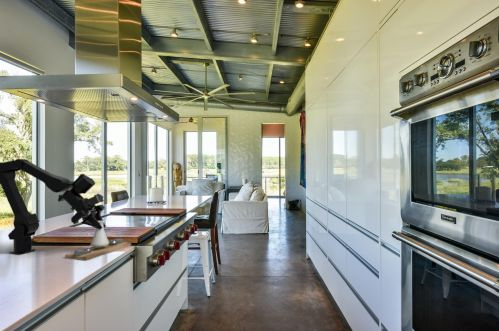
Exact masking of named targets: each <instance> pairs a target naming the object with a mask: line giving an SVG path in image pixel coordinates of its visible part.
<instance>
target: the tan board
mask: <svg viewBox="0 0 499 331" xmlns="http://www.w3.org/2000/svg"><path fill="white" fill-rule="evenodd" d="M131 246H132V243H131V242H126V241H123V243H120V244H117V245H109V244H108V245H104V246H90V247H89V248H91V253H88V254H85V255H81V256H75V255H74V251H73V252H70V253H67V254H65V255H64V257H65V259H72V260H81V261H89V260H92V259H96V258H98V257H101V256H103V255H104V256H105V255H107V254H110V253H113V252H116V251H118V250H119V251H120V250H122V249H126V248H128V247H131Z"/></svg>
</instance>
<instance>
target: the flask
mask: <svg viewBox="0 0 499 331" xmlns="http://www.w3.org/2000/svg"><path fill="white" fill-rule="evenodd" d="M98 222H99V223H100V225H101V226H102V229H97V228H95V232H94V234H93V237H92V240H91V242H90V247H93V246H104V245H108V244H109V241H110V240H109V239H108V236H107V234H106V232H105V231H106V230H105V228H104V226H103V223H105V220H103V221H98Z"/></svg>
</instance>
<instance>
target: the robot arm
mask: <svg viewBox="0 0 499 331" xmlns="http://www.w3.org/2000/svg"><path fill="white" fill-rule="evenodd" d="M19 171H23V172H24V173H25V174H28V175H29V176H32V177H34V178H35V179H37V180H39V181H40V182H42V183H44V184H45V186H46V188H47V189H49V190H50V191H51V192H52V193H62V194H59V195H58V198H57V202H58V203H59V202H63V201H65V202H66V203H67V204H68V205H69V206H70V210H71V211H75V212H76V213H75V214H73V216H71V217H70V222H72V223H73V225H76V224H79V223H80V224H84V225H87V226H89V227H92V228H95V229H96V228H97V229H102V226H101V225H100V223H99V222H98V221H104V219H103V217H102V212H103V210H105V209H106V207H105V206H104V204H99V203H102V202H104V201H105V200H104V196H103V195H102V194H100V193H97V194H94V195H93V196H92V197H90V198H88V197H84V196H83V195H82V194H84V195H85V194H87V193H88V192H89V190H91V189H92V188H93V187H94V186H95V185H96V182H95V180H94V179H93V178H91V177H90V176H87V175H86V174H85V173H81V174H79V176H78V177H77V178H76V179H75V180H74V181H71V180H70V179H68V178H67V177H63V176H60V175H56V174H53V173H50V172H49V171H47V170H45V169H44V168H41V167H40V166H38V165H37V164H34V163H32V162H31V161H29V159H26V158H16V159H13V160H9V161H3V162H0V186H1V189H2V191H3V193H4V195H5V198H6V201H7V202H8V204H9V207H10V209H11V212H12V213H13V214H12V215H14V216H13V223H12V224H13V227H14V228H13V230H11V231H10V232H9V233H8V234H7V237H8V239H9V240H10V241H11V240H13V250H12V251H9V254H14V255H23V254H27V253H30V252H35V251H36V249H33V248H32V247H33V245H32V244H33V243H32V236H35V235H36V232H37V230H38V229H39V227H40V219H39V218H38V216H37V214H36V213H31V212H30V211H29V210H28V207H27V205H26V203H25V201H24V198H23V196H22V194H21V192H20V190H19V188H18V185H17V183H16V175H17V173H16V172H19ZM81 219H82V221H81V222H79V221H80V220H81ZM103 226H104V229H105V228H106V226H107V225H106V223H105V222H104V223H103Z"/></svg>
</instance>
